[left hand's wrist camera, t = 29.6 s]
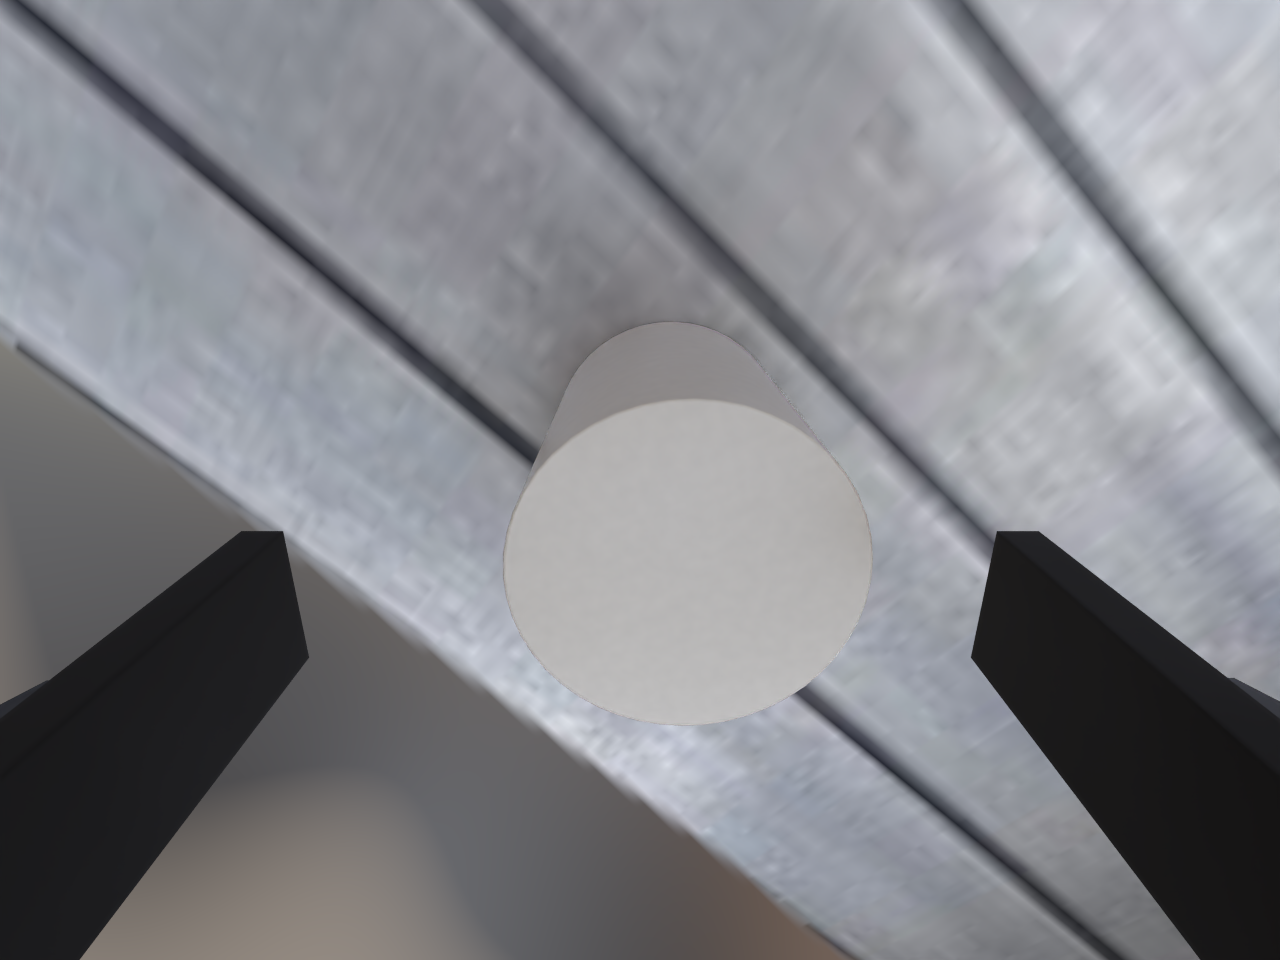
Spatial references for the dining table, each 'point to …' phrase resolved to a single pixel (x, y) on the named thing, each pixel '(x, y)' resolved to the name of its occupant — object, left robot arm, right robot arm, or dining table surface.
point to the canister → (684, 535)
